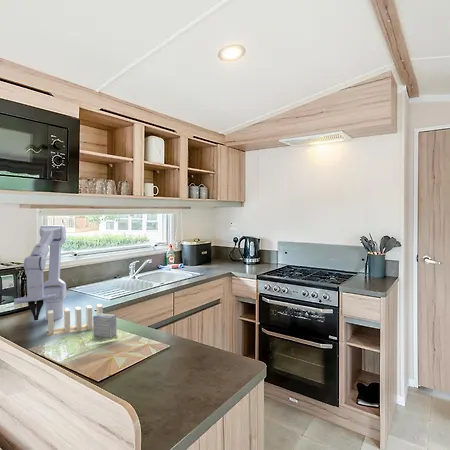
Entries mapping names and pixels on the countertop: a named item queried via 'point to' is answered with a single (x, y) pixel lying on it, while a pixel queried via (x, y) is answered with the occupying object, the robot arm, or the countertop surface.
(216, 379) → the countertop surface
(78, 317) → the domino
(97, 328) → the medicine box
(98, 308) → the domino
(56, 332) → the oak strip
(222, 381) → the countertop surface
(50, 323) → the domino
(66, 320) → the domino
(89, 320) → the domino
